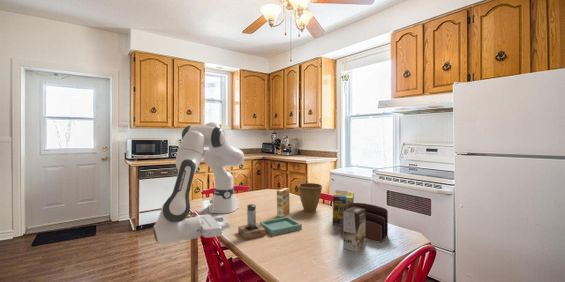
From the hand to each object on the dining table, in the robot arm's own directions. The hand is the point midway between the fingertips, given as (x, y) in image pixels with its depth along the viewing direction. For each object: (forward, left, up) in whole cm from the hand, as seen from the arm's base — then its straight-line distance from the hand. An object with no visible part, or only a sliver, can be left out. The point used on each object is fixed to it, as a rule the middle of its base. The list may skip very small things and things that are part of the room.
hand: (226, 222), depth 120 cm
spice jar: (0, +13, -8) cm, 15 cm away
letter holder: (+27, +60, -8) cm, 66 cm away
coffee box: (+35, +46, -8) cm, 58 cm away
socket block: (0, +13, -8) cm, 15 cm away
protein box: (+9, +64, -8) cm, 65 cm away
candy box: (-18, +41, -8) cm, 45 cm away
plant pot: (-17, +60, -8) cm, 63 cm away
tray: (0, +29, -8) cm, 30 cm away
